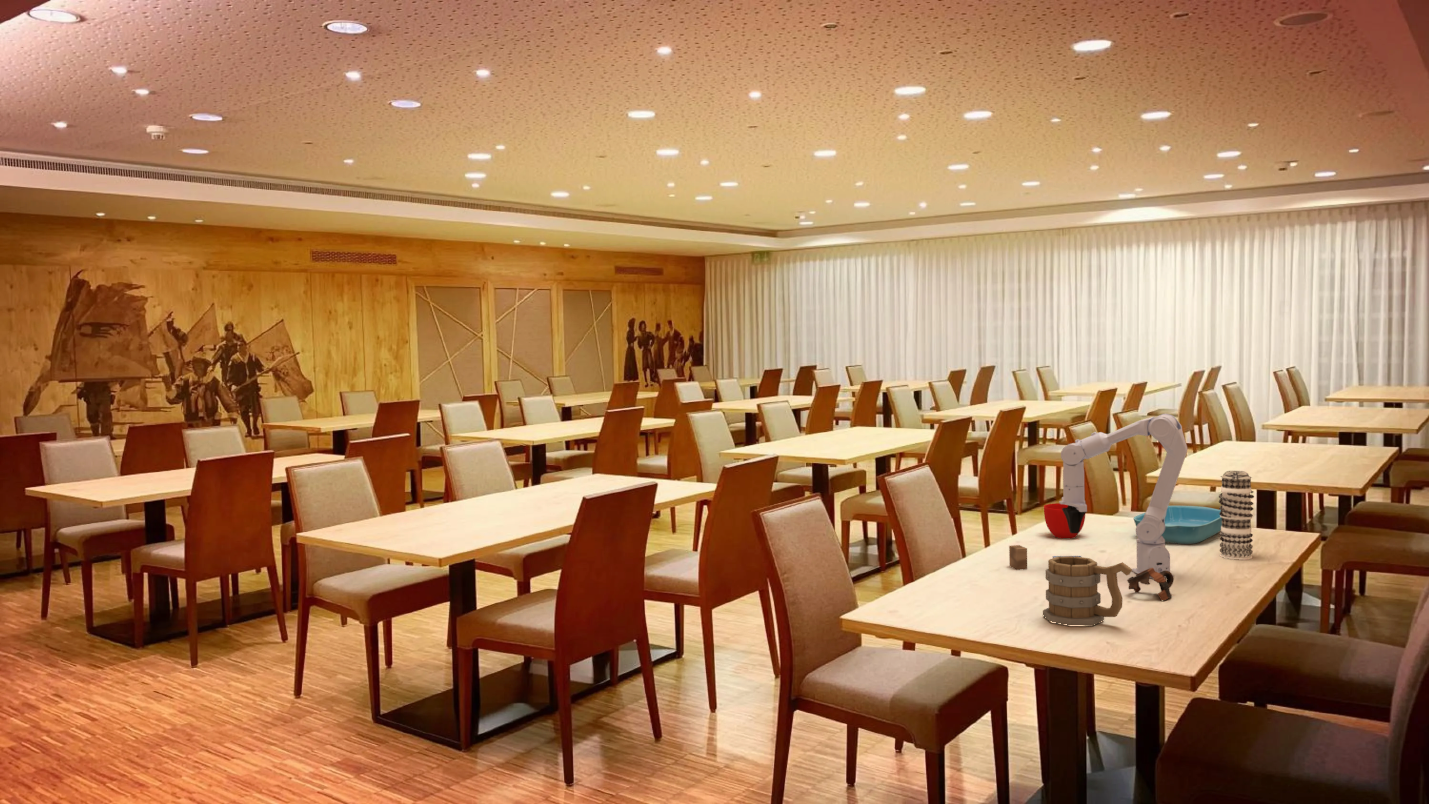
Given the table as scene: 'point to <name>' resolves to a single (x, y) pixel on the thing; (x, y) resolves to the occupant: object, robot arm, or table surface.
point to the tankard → (1080, 590)
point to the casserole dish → (1188, 524)
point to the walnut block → (1018, 557)
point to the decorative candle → (1236, 515)
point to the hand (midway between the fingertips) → (1074, 532)
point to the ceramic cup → (1058, 521)
